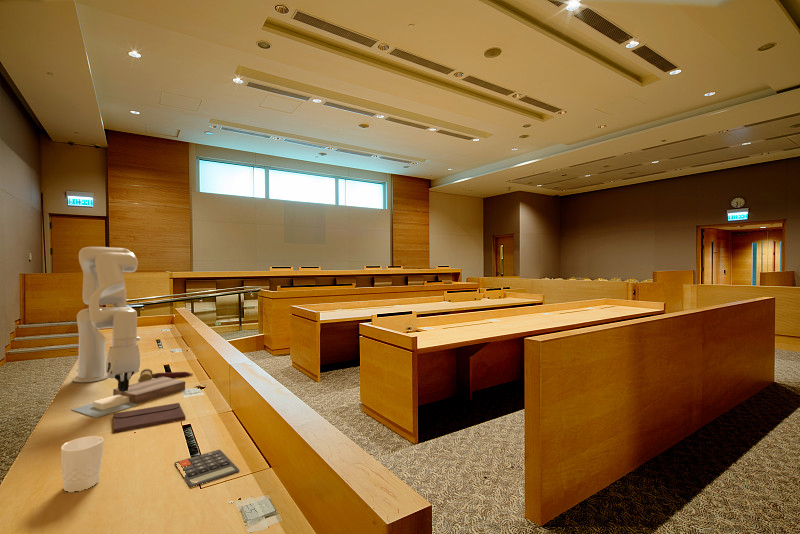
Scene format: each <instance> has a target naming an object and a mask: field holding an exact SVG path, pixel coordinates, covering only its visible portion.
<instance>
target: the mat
mask: <svg viewBox="0 0 800 534" xmlns="http://www.w3.org/2000/svg"><path fill="white" fill-rule="evenodd" d="M137 406H139V404H135V403H131V402H128V403H124V404H121V405H118V406H114V407H111V408H107V409H104V410H102V409H98V408H95V407H93V402H91V403H90V404H85V405H83V406H82V405H81V406H78V407H75V408H71V411H73V412H75V413H79V414H81V415H85V416H88V417H92V418H95V419H97V418H100V417H104V416H108V415H110V414H114V413H119V412H120V411H121V412H122V411H123V410H127V409H131V408H135V407H137Z"/></svg>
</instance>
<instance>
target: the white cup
mask: <svg viewBox="0 0 800 534" xmlns="http://www.w3.org/2000/svg"><path fill="white" fill-rule="evenodd" d="M103 452H104V438H103V437H102V436H100V435H99V436H98V435H90V436H89V435H88V436H82V437H78V438H75V439H72V440H69V441H67V442H65V443H64V444H62V445H61V447H60V453H61V454H60V455H61V456H60V457H61V459H60V460H61V477H62V490H63V489H64V490H65V491H68V492H67V493H75V492H74V491H79V492H82V491H81V490H83V491H85V490H84V489H86V490H89V489H91V488H92V487H91V486H93V487H94V485H95V484H96V483H97V482H98V483H99V482H100V480H101V479H100V478H101V470H102V460H103ZM98 483H97V484H98ZM97 484H96V485H97ZM96 485H95V486H96ZM90 487H91V488H90ZM88 488H89V489H88ZM64 490H63V491H64ZM65 491H64V492H65Z"/></svg>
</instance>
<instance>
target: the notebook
mask: <svg viewBox="0 0 800 534" xmlns="http://www.w3.org/2000/svg"><path fill="white" fill-rule="evenodd" d="M180 420H181V421H185V420H186V415H185V413H184V410H183V409H182V406H181V404H180V402H176V403H170V404H164V405H157V406H151V407H146V408H145V407H144V408H139V409H134V410H133V409H132V410H126V411H121V412H120V411H119V412H114V413H112V421H113V422H112V423H113V434H116V433H122V432H126V431H133V430H137V429H138V430H139V429H143V428H149V427H153V426H159V425H163V424H165V425H166V424H169V423H174V421H175V422H180Z"/></svg>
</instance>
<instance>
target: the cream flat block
mask: <svg viewBox="0 0 800 534" xmlns="http://www.w3.org/2000/svg"><path fill="white" fill-rule="evenodd" d="M128 402H129V396H125V395H121V394H118V395H115V396H113V395H111V396H108V397H104V398H101V399H97V400H93V401H92V403H93V407H95V408H98V409H102V410H104V409H107V408H111V407H114V406H118V405H121V404H124V403H128Z"/></svg>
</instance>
